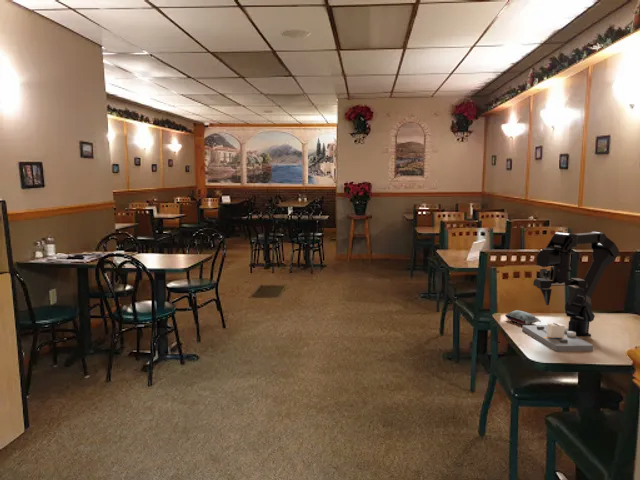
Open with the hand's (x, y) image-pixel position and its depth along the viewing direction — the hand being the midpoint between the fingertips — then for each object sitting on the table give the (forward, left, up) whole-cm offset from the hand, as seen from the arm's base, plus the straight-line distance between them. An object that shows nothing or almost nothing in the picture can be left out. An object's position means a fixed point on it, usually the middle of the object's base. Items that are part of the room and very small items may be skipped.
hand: (558, 304), depth 185 cm
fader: (+4, +6, -11) cm, 13 cm away
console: (+2, +3, -13) cm, 13 cm away
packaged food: (+3, -20, -13) cm, 24 cm away
